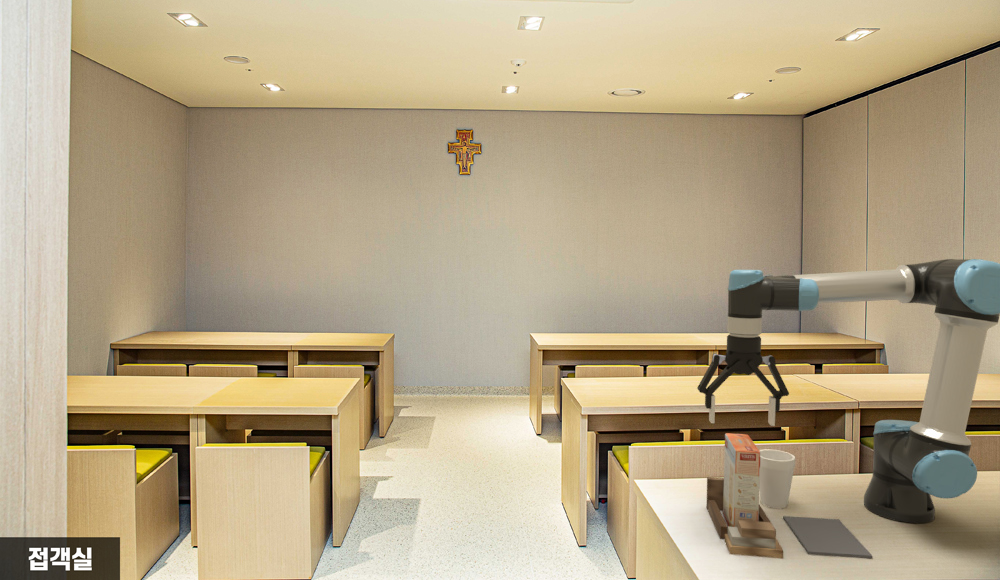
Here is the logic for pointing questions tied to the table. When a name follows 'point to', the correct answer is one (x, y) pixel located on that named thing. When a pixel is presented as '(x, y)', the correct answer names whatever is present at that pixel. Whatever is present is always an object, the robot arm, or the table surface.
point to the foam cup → (776, 477)
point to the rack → (716, 505)
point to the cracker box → (741, 479)
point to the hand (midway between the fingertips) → (741, 423)
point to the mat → (826, 537)
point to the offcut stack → (753, 539)
